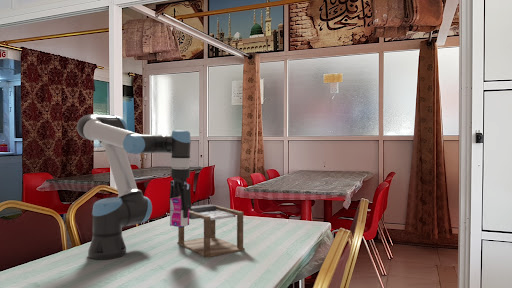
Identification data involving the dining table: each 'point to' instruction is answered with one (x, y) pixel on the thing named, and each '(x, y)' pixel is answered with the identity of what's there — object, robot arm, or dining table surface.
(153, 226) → the dining table surface
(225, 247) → the frame
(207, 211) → the trapdoor
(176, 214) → the supplement box
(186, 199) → the robot arm
